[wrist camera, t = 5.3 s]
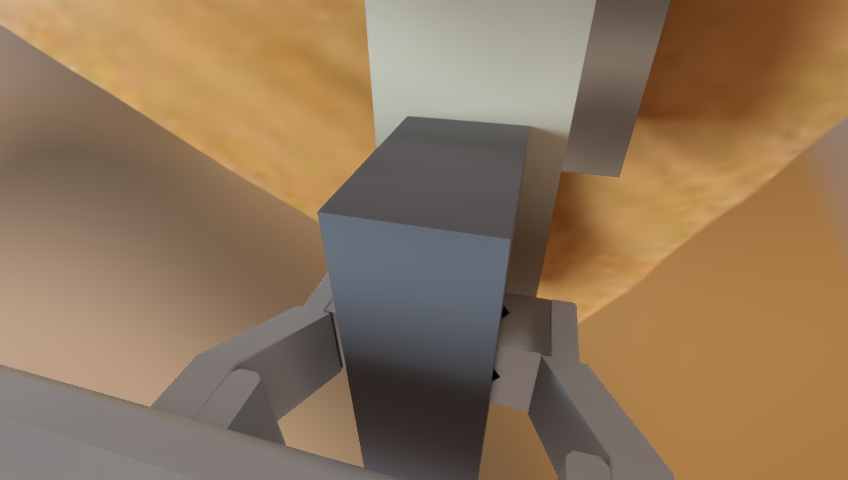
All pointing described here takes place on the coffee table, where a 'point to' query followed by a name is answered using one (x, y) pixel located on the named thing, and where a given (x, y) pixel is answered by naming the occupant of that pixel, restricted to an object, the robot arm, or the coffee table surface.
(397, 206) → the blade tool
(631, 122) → the brown bridge block
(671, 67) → the coffee table surface
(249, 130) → the coffee table surface
